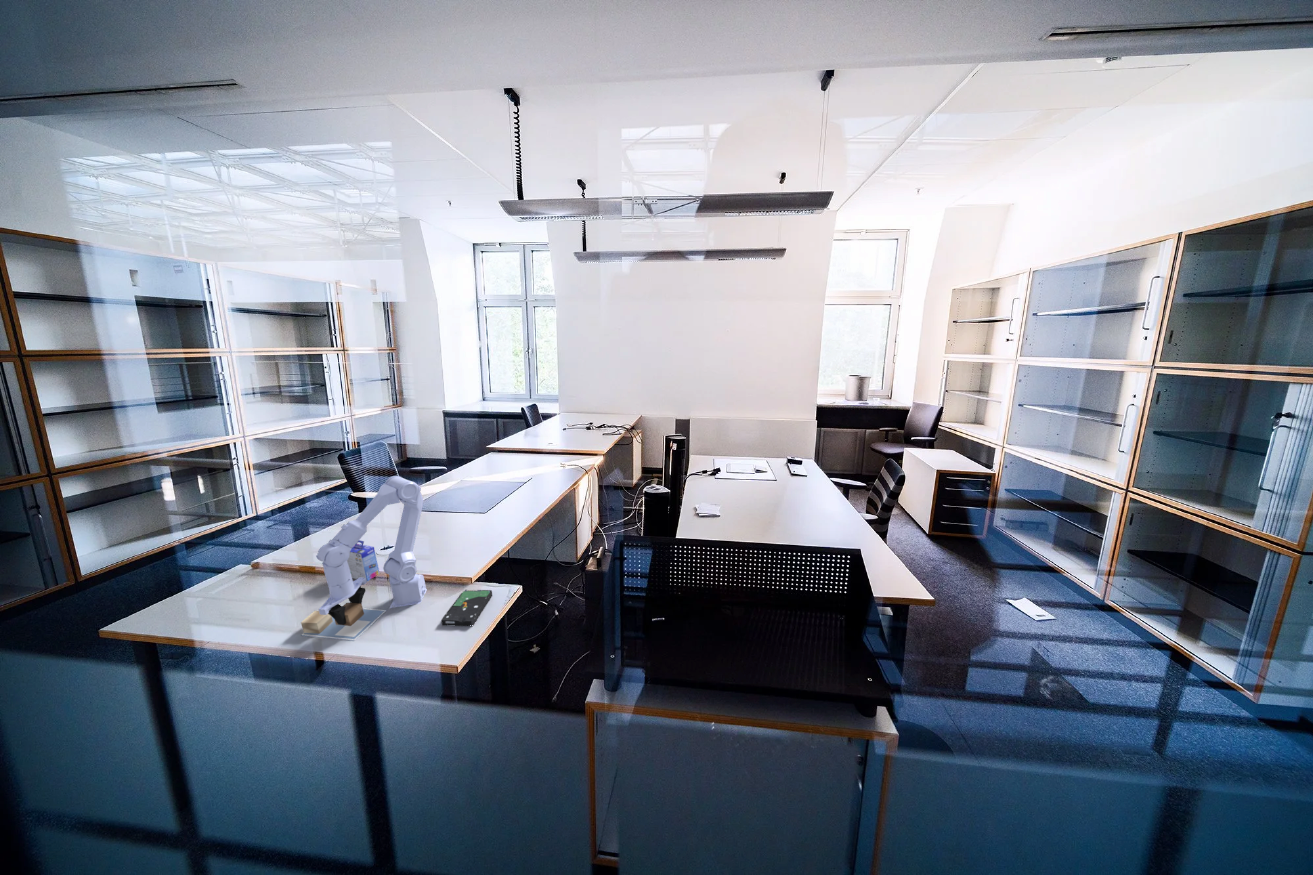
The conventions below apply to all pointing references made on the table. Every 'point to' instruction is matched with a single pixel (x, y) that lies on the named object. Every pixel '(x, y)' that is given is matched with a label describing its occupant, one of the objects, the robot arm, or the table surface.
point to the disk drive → (467, 608)
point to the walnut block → (352, 613)
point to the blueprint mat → (349, 627)
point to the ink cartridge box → (363, 561)
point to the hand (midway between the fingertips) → (349, 617)
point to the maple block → (316, 622)
